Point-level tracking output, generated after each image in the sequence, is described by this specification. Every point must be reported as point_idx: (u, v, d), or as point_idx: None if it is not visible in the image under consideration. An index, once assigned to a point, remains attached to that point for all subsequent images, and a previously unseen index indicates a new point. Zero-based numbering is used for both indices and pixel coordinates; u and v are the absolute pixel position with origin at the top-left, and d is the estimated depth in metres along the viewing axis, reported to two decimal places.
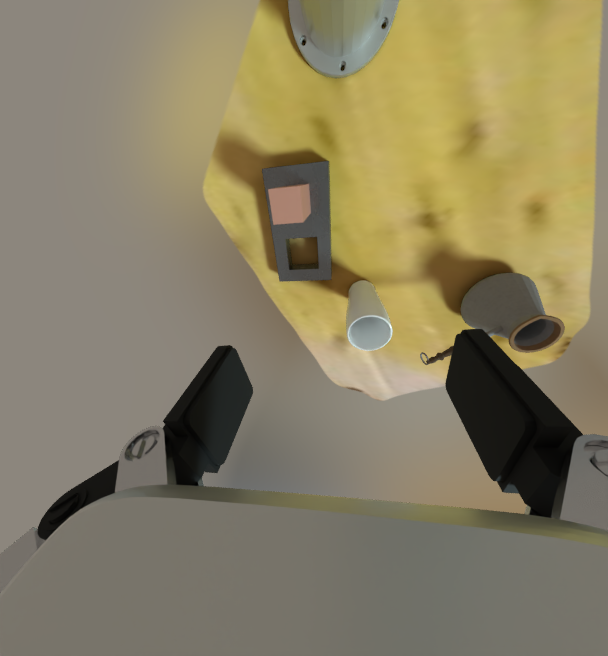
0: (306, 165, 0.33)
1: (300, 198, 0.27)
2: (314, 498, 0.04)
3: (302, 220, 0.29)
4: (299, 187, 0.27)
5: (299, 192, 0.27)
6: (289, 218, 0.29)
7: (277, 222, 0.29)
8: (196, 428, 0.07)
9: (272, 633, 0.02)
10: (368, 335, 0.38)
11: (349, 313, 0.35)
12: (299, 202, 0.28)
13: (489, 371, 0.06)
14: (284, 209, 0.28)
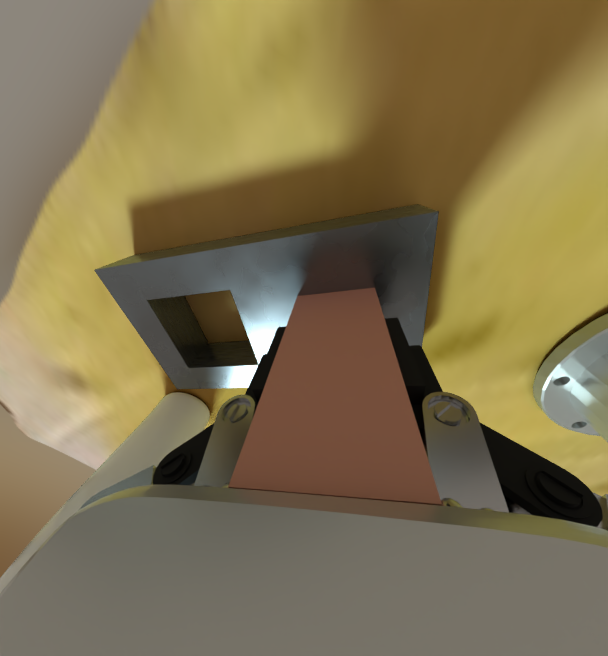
0: (417, 344, 0.13)
1: None
2: (314, 498, 0.04)
3: None
4: None
5: None
6: None
7: None
8: None
9: (272, 633, 0.02)
10: None
11: None
12: None
13: None
14: None
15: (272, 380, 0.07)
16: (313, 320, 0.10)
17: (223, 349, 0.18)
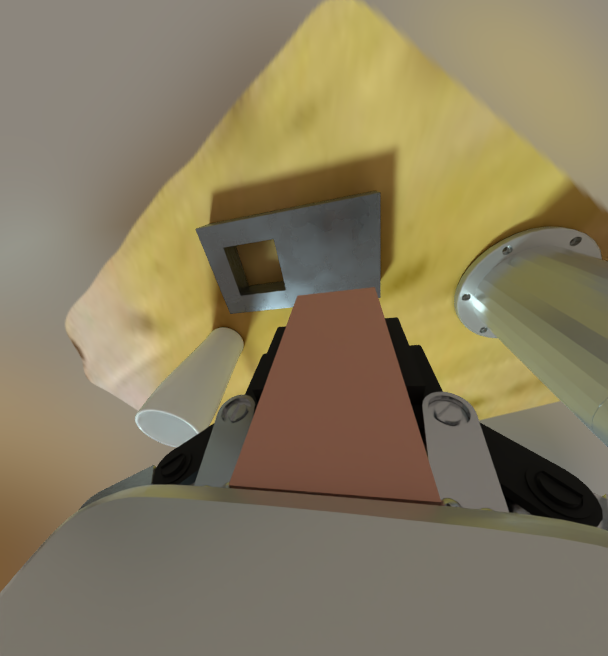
0: (378, 269, 0.23)
1: None
2: (314, 498, 0.04)
3: None
4: None
5: None
6: None
7: None
8: None
9: (272, 633, 0.02)
10: None
11: (187, 386, 0.23)
12: None
13: None
14: None
15: (272, 379, 0.07)
16: (313, 320, 0.10)
17: (260, 287, 0.28)
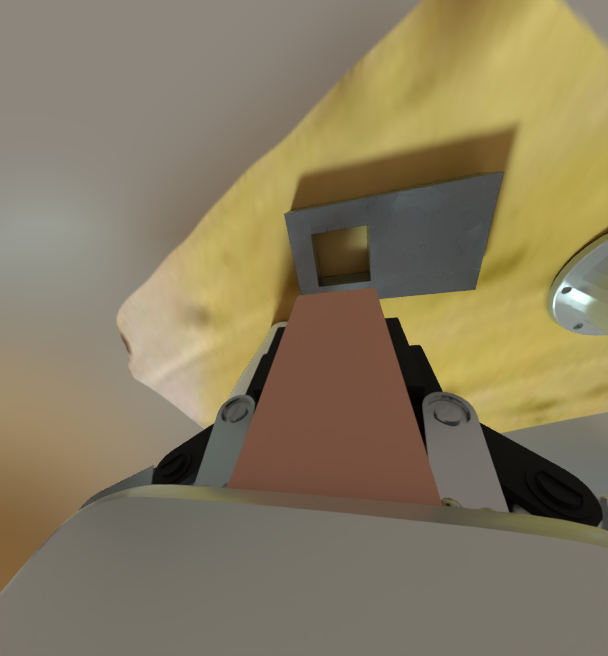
0: (480, 258, 0.21)
1: None
2: (314, 498, 0.04)
3: None
4: None
5: None
6: None
7: None
8: None
9: (272, 633, 0.02)
10: None
11: None
12: None
13: None
14: None
15: (272, 380, 0.07)
16: (313, 320, 0.10)
17: (336, 278, 0.26)
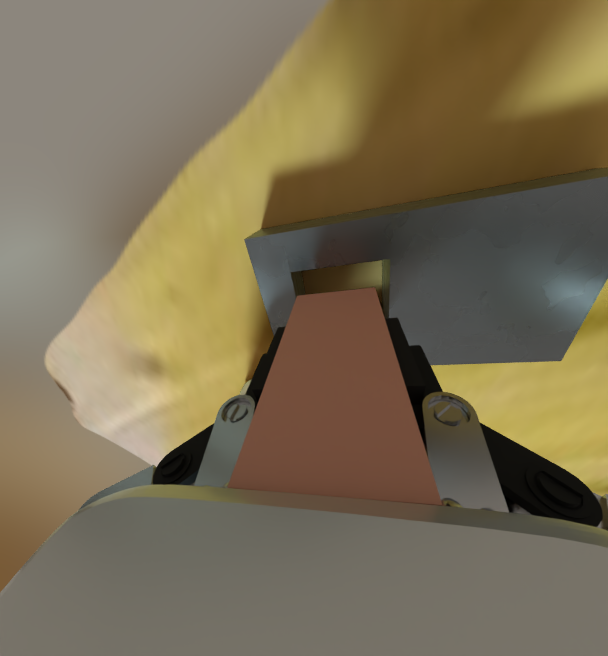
0: (580, 317, 0.12)
1: None
2: (314, 498, 0.04)
3: None
4: None
5: None
6: None
7: None
8: None
9: (272, 633, 0.02)
10: None
11: None
12: None
13: None
14: None
15: (272, 380, 0.07)
16: (313, 320, 0.10)
17: None
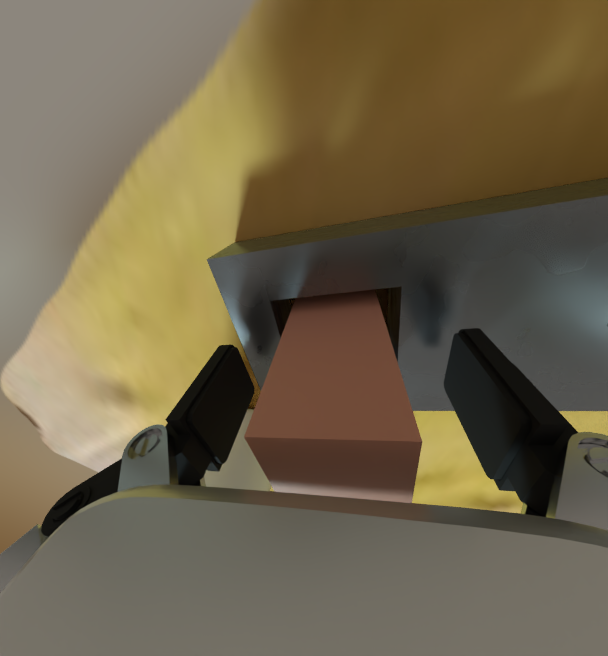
0: None
1: None
2: (314, 498, 0.04)
3: None
4: None
5: None
6: (287, 481, 0.07)
7: (260, 450, 0.06)
8: (198, 427, 0.07)
9: (272, 633, 0.02)
10: None
11: None
12: None
13: (486, 370, 0.06)
14: (321, 475, 0.06)
15: (278, 357, 0.08)
16: (315, 308, 0.10)
17: None
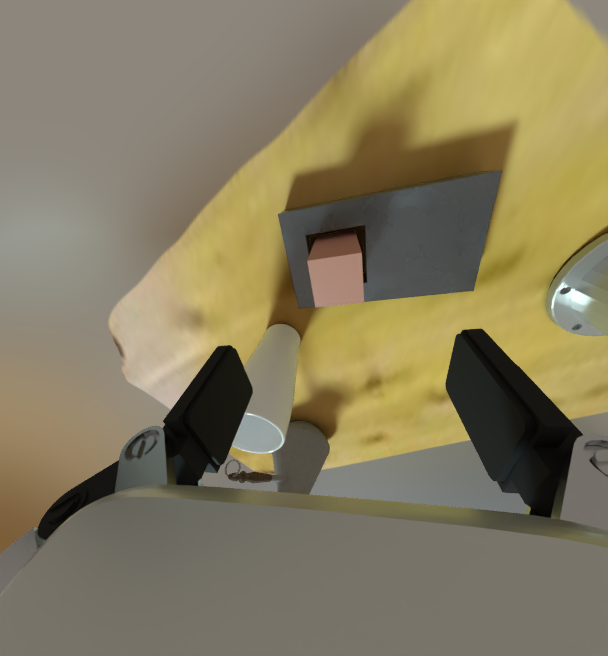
0: (478, 259, 0.21)
1: (347, 302, 0.18)
2: (314, 498, 0.04)
3: (317, 305, 0.19)
4: (361, 301, 0.18)
5: (355, 301, 0.18)
6: (319, 287, 0.18)
7: (311, 267, 0.17)
8: (196, 428, 0.07)
9: (272, 633, 0.02)
10: None
11: (268, 386, 0.21)
12: (342, 301, 0.18)
13: (489, 371, 0.06)
14: (331, 279, 0.17)
15: (313, 250, 0.19)
16: (326, 239, 0.22)
17: None
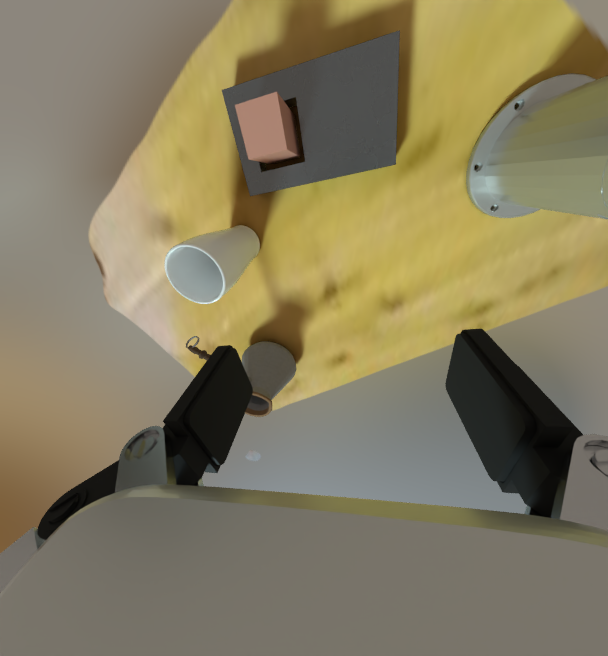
0: (394, 128, 0.24)
1: (274, 151, 0.22)
2: (314, 498, 0.04)
3: (250, 157, 0.22)
4: (285, 148, 0.21)
5: (280, 149, 0.21)
6: (248, 135, 0.21)
7: (239, 112, 0.20)
8: (196, 428, 0.07)
9: (272, 633, 0.02)
10: (191, 271, 0.28)
11: (212, 238, 0.24)
12: (269, 150, 0.22)
13: (489, 371, 0.06)
14: (257, 125, 0.21)
15: None
16: None
17: None
